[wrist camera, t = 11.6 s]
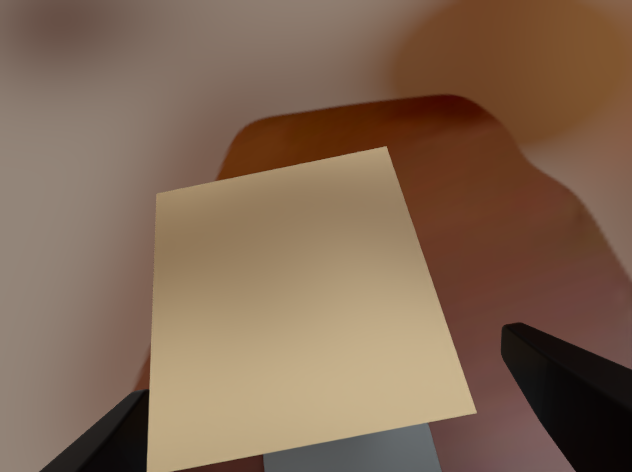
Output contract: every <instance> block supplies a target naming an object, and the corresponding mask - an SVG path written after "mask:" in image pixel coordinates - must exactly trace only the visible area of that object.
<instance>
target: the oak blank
mask: <svg viewBox="0 0 632 472" xmlns="http://www.w3.org/2000/svg"><path fill="white" fill-rule="evenodd" d="M155 226H156V227H155V254H154V283H153V310H152V312H153V313H152V338H151V367H150V395H149V423H148V451H147V472H171V471H177V470H182V469H187V468H192V467H198V466H203V465H208V464H213V463H218V462H224V461H229V460H234V459H239V458H245V457H250V456H255V455H260V454H265V453H271V452H276V451H281V450H286V449H291V448H297V447H302V446H307V445H312V444H318V443H323V442H328V441H333V440H338V439H344V438H349V437H354V436H359V435H365V434H370V433H375V432H380V431H385V430H391V429H396V428H401V427H406V426H411V425H417V424H422V423H427V422H432V421H438V420H443V419H448V418H453V417H458V416H464V415H469V414H474V413H477V412H476V409H475V406H474V403H473V400H472V397H471V394H470V392H469V389H468V386H467V383H466V380H465V377H464V374H463V371H462V368H461V365H460V362H459V359H458V356H457V353H456V350H455V347H454V344H453V341H452V338H451V335H450V333H449V330H448V327H447V324H446V321H445V318H444V315H443V312H442V309H441V306H440V303H439V300H438V297H437V294H436V291H435V288H434V285H433V282H432V279H431V277H430V274H429V271H428V268H427V265H426V262H425V259H424V256H423V253H422V250H421V247H420V244H419V241H418V238H417V235H416V232H415V229H414V226H413V223H412V221H411V218H410V215H409V212H408V209H407V206H406V203H405V200H404V197H403V194H402V191H401V188H400V185H399V182H398V179H397V176H396V173H395V170H394V167H393V165H392V162H391V159H390V156H389V153H388V150H387V147H382V148H377V149H372V150H367V151H362V152H357V153H352V154H348V155H343V156H338V157H333V158H328V159H323V160H318V161H313V162H309V163H304V164H299V165H294V166H289V167H284V168H279V169H274V170H270V171H265V172H260V173H255V174H250V175H245V176H240V177H235V178H231V179H226V180H221V181H216V182H211V183H206V184H202V185H197V186H192V187H187V188H182V189H177V190H172V191H167V192H162V193H158V194H157V197H156V225H155Z"/></svg>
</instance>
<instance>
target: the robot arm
mask: <svg viewBox="0 0 632 472" xmlns="http://www.w3.org/2000/svg"><path fill="white" fill-rule="evenodd" d="M501 355H502V358H503V360H504V362H505V364H506V365H507V367H508V369H509V370H510V372H511V374H512V375H513V377H514V379H515V381H516V382H517V384H518V386H519V387H520V389H521V391H522V392H523V394H524V396H525V397H526V399H527V401H528V403H529V404H530V406H531V408H532V409H533V411H534V413H535V414H536V416H537V417H538V419H539V421H540V422H541V424H542V425H543V427H544V428H545V429H546V431H547V432H548V434H549V435H550V437H551V438H552V439H553V441H554V442H555V443H556V445H557V446H558V448H559V449H560V450H561V452H562V453H563V455H564V456H565V457H566V459H567V460H568V461H569V463H570V464H571V466H572V467H573V468H574V470H575V471H576V472H632V370H631V369H629V368H627V367H624V366H622V365H620V364H617V363H615V362H613V361H610V360H608V359H606V358H603V357H601V356H599V355H596V354H594V353H592V352H589V351H587V350H585V349H582V348H580V347H578V346H575V345H573V344H571V343H568V342H566V341H564V340H561V339H559V338H557V337H554V336H552V335H550V334H547V333H545V332H543V331H540V330H538V329H536V328H533V327H531V326H529V325H526V324H524V323H520V322H517V323H512V324H506V325H504V326H503V327H502V334H501ZM149 395H150V390H149V389H144V390H139V391H134V392H132V393H130V394H129V395H128V396H127V397H126V398H124V399H123V400H122V401H121V402H120V403H119V404H117V405H116V406H115V407H114V408H113V409H112V410H110V411H109V412H108V413H107V414H106V415H105V416H103V417H102V418H101V419H100V420H99V421H98V422H96V423H95V424H94V425H93V426H92V427H91V428H90V429H88V430H87V431H86V432H85V433H84V434H83V435H81V436H80V437H79V438H78V439H77V440H76V441H74V442H73V443H72V444H71V445H70V446H69V447H67V448H66V449H65V450H64V451H63V452H62V453H61V454H59V455H58V456H57V457H56V458H55V459H53V460H52V461H51V462H50V463H49V464H48V465H47V466H45V467H44V468H43V469H42V470H41V471H39V472H147V451H148V423H149Z"/></svg>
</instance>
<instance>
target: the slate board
mask: <svg viewBox="0 0 632 472" xmlns="http://www.w3.org/2000/svg"><path fill="white" fill-rule="evenodd" d="M263 459H264V470H265V472H442V471H441V467H440V464H439V460H438V457H437V453H436V450H435V446H434V443H433V439H432V436H431V432H430V429H429V425H428V422H427V423H422V424H417V425H411V426H406V427H401V428H396V429H391V430H385V431H380V432H375V433H370V434H365V435H359V436H354V437H349V438H344V439H338V440H333V441H328V442H323V443H318V444H312V445H307V446H302V447H297V448H291V449H286V450H281V451H276V452H271V453H265V454H263Z"/></svg>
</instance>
